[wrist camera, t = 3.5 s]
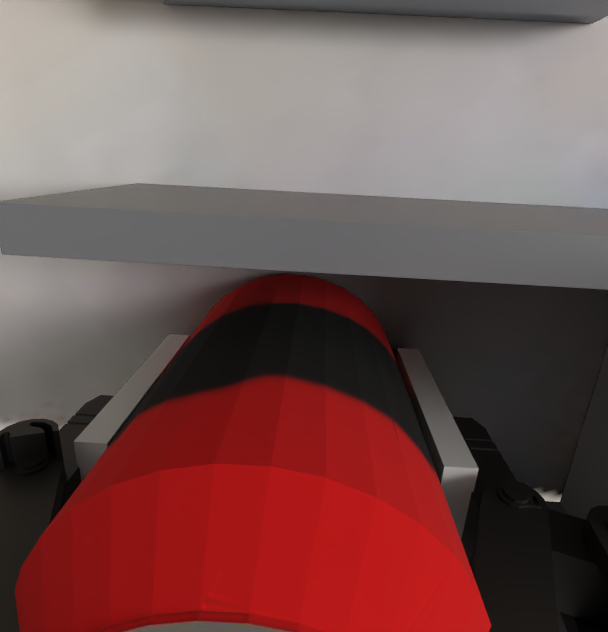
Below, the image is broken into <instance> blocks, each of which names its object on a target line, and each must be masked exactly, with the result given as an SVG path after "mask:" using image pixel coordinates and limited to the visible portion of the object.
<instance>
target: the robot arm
mask: <svg viewBox="0 0 608 632" xmlns="http://www.w3.org/2000/svg"><path fill="white" fill-rule="evenodd" d="M189 338H190V335H178V334H168V336H167V337H166V338H165V339H164V340H163V341H162V342H161V344H160V345H159V346H158V347H157V348H156V349H155V350H154V351H153V353H152V354H151V355H150V356H149V357H148V358H147V359H146V360H145V362H144V363H143V364H142V365H141V366H140V367H139V368H138V369H137V371H136V372H135V373H134V374H133V375H132V376H131V377H130V379H129V380H128V381H127V382H126V383H125V384H124V385H123V386H122V388H121V389H120V390H119V391H118V392H117V393H116V394H115V395H114V396H105V395H100V396H98V397H97V398H95V399H93V400H91V401H89V402H87V403H86V404H85V405H84V406H83V407H82V408H81V409H80V410H79V411H78V412H77V413H76V415H75V416H73V417H72V418H71V419H70V420H69V421H68V423H67V424H65V425H64V426H63V427H62V428H61V429H60V430H59V428H58V424H56V423H55V422H54V421H52V420H47V419H31V420H26V421H21V422H18V423H15V424H13V425H10V426H8V427H6V428H4V429H3V430H1V431H0V632H20V629H19V621H18V613H17V606H16V598H15V587H16V584H17V580H18V577H19V573H20V570H21V567H22V565H23V563H24V562H25V560H26V559H27V557H28V556H29V554H30V552H31V551H32V549H33V548H34V546H35V545H36V543H37V541H38V540H39V538H40V537H41V535H42V534H43V533H44V531H45V530H46V529H47V527H48V526H49V525H50V523H51V522H52V521H53V519H54V518H55V517H56V515H57V514H58V513H59V511H60V510H61V509H62V507H63V506H64V505H65V503H66V502H67V501H68V499H69V498H70V497H71V495H72V494H73V493H74V491H75V490H76V489H77V487H78V486H79V485H80V483H81V482H82V481H83V479H84V478H85V477H86V475H87V474H88V473H89V471H90V470H91V469H92V467H93V466H94V465H95V463H96V462H97V461H98V459H99V458H100V457H101V455H102V454H103V453H104V451H105V450H106V449H107V448H108V446H109V445H110V444H111V442H112V441H113V440H114V438H115V437H116V436H117V434H118V433H119V432H120V430H121V429H122V428H123V426H124V425H125V424H126V422H127V421H128V420H129V418H130V417H131V416H132V414H133V413H134V412H135V410H136V409H137V408H138V406H139V405H140V404H141V402H142V401H143V400H144V398H145V397H146V396H147V394H148V393H149V392H150V390H151V389H152V388H153V386H154V385H155V384H156V382H157V381H158V380H159V378H160V377H161V376H162V374H163V373H164V372H165V370H166V369H167V368H168V366H169V365H170V364H171V362H172V361H173V360H174V358H175V357H176V356H177V354H178V353H179V352H180V350H181V349H182V348H183V346H184V345H185V344H186V342H187V341H188V340H189ZM396 362H397V365H398V368H399V371H400V374H401V376H402V379H403V382H404V385H405V387H406V390H407V393H408V396H409V398H410V401H411V404H412V407H413V409H414V412H415V415H416V418H417V421H418V423H419V426H420V429H421V432H422V434H423V437H424V440H425V443H426V445H427V448H428V451H429V454H430V456H431V459H432V462H433V465H434V468H435V470H436V473H437V476H438V479H439V481H440V484H441V487H442V490H443V492H444V495H445V498H446V501H447V503H448V506H449V509H450V512H451V515H452V517H453V520H454V523H455V526H456V528H457V531H458V534H459V537H460V539H461V542H462V544H463V546H464V549H465V552H466V555H467V557H468V562H469V564H470V567H471V570H472V573H473V575H474V578H475V581H476V584H477V586H478V589H479V592H480V595H481V598H482V600H483V603H484V606H485V609H486V612H487V615H488V617H489V620H490V623H491V628H490V630H489V632H559V626H558V615H557V611H559V612H560V613H561V616H562V619H563V622H564V624H565V627H566V630H567V632H608V506H600V505H598V506H596V507H593V508H591V509H590V511H589V513H588V515H587V518H586V520H585V519H582V518H578V517H575V516H571V515H568V514H564V513H561V512H558V511H555V510H552V509H549V508H548V507H547V505H546V502H545V500H544V499H543V498H542V497H541V495H540V494H539V493H538V492H537V491H535V490H534V489H532V488H531V487H529V486H528V485H526V484H523V483H521V482H518V481H517V480H516V479H515V477H514V475H513V474H512V472H511V470H510V469H509V467H508V465H507V464H506V462H505V460H504V459H503V457H502V455H501V454H500V452H499V451H498V449H497V447H496V446H495V444H494V442H492V439H491V437H490V436H489V434H488V432H487V431H486V429H485V428H484V427H483V426H482V425H480V424H479V423H478V422H477V421H475V420H474V419H473V418H463V417H452V415H451V413H450V411H449V409H448V407H447V405H446V403H445V401H444V399H443V397H442V395H441V393H440V391H439V389H438V387H437V385H436V383H435V381H434V379H433V377H432V375H431V373H430V371H429V369H428V367H427V365H426V363H425V361H424V359H423V357H422V355H421V353H420V351H419V349H405V348H398V349H397V357H396Z"/></svg>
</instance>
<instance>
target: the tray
mask: <svg viewBox="0 0 608 632" xmlns="http://www.w3.org/2000/svg"><path fill="white" fill-rule="evenodd" d="M161 1H162V2H163V3H164V4H174V5H196V6H218V7H240V8H263V9H285V10H307V11H329V12H351V13H373V14H395V15H417V16H439V17H462V18H484V19H506V20H528V21H550V22H572V23H594V22H596V21H598V20H600V19H602V18H604V17H606V16H608V0H161Z"/></svg>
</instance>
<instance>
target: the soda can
mask: <svg viewBox="0 0 608 632" xmlns="http://www.w3.org/2000/svg"><path fill="white" fill-rule="evenodd" d="M15 598H16V606H17V613H18V621H19V629H20V632H489V630H490V628H491V623H490V620H489V617H488V615H487V612H486V609H485V606H484V603H483V600H482V598H481V595H480V592H479V589H478V586H477V584H476V581H475V578H474V575H473V573H472V570H471V567H470V564H469V562H468V559H467V556H466V553H465V550H464V548H463V545H462V542H461V539H460V537H459V534H458V531H457V528H456V526H455V523H454V520H453V517H452V515H451V512H450V509H449V506H448V503H447V501H446V498H445V495H444V492H443V490H442V487H441V484H440V481H439V479H438V476H437V473H436V470H435V468H434V465H433V462H432V459H431V456H430V454H429V451H428V448H427V445H426V443H425V440H424V437H423V434H422V432H421V429H420V426H419V423H418V421H417V418H416V415H415V412H414V409H413V407H412V404H411V401H410V398H409V396H408V393H407V390H406V387H405V385H404V382H403V379H402V376H401V374H400V371H399V368H398V365H397V362H396V360H395V357H394V354H393V351H392V349H391V346H390V343H389V340H388V338H387V335H386V332H385V330H384V328H383V327H382V325H381V323H380V322H379V320H378V319H377V317H376V315H375V314H374V313H373V312H372V311H371V310H370V309H369V308H368V307H367V306H366V305H365V304H364V302H363V301H362V300H361V299H359V298H358V297H356V296H355V295H353V294H352V293H350V292H349V291H348V290H346V289H345V288H343V287H341V286H338V285H336V284H334V283H331V282H329V281H327V280H325V279H320V278H316V277H311V276H307V275H292V274H281V275H275V276H269V277H263V278H259V279H257V280H254V281H252V282H249V283H246V284H244V285H241V286H240V287H238V288H237V289H235V290H234V291H232V292H230V293H229V294H227V295H226V296H225V297H224V298H222V299H221V300H220V301H219V302H218V303H217V304H216V305H215V306H214V307H213V308H212V309H211V311H210V312H209V313H208V315H207V316H206V317H205V319H204V320H203V321H202V323H201V324H200V325H199V327H198V328H197V329H196V330H195V332H194V333H193V334H192V336H191V337H190V338H189V340H188V341H187V342H186V344H185V345H184V346H183V348H182V349H181V350H180V352H179V353H178V354H177V356H176V357H175V358H174V360H173V361H172V362H171V364H170V365H169V366H168V368H167V369H166V370H165V372H164V373H163V374H162V376H161V377H160V378H159V380H158V381H157V382H156V384H155V385H154V386H153V388H152V389H151V390H150V392H149V393H148V394H147V396H146V397H145V398H144V400H143V401H142V402H141V404H140V405H139V406H138V408H137V409H136V410H135V412H134V413H133V414H132V416H131V417H130V418H129V420H128V421H127V422H126V424H125V425H124V426H123V428H122V429H121V430H120V432H119V433H118V434H117V436H116V437H115V438H114V440H113V441H112V442H111V444H110V445H109V446H108V448H107V449H106V450H105V451H104V453H103V454H102V455H101V457H100V458H99V459H98V461H97V462H96V463H95V465H94V466H93V467H92V469H91V470H90V471H89V473H88V474H87V475H86V477H85V478H84V479H83V481H82V482H81V483H80V485H79V486H78V487H77V489H76V490H75V491H74V493H73V494H72V495H71V497H70V498H69V499H68V501H67V502H66V503H65V505H64V506H63V507H62V509H61V510H60V511H59V513H58V514H57V515H56V517H55V518H54V519H53V521H52V522H51V523H50V525H49V526H48V527H47V529H46V530H45V531H44V533H43V534H42V535H41V537H40V538H39V540H38V541H37V543H36V545H35V546H34V548H33V549H32V551H31V552H30V554H29V556H28V557H27V559H26V560H25V562H24V563H23V565H22V567H21V570H20V573H19V577H18V580H17V584H16V587H15Z"/></svg>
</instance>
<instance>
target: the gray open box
mask: <svg viewBox="0 0 608 632" xmlns="http://www.w3.org/2000/svg"><path fill="white" fill-rule="evenodd" d="M0 247H1V252H2V254H5V255H22V256H39V257H57V258H74V259H91V260H108V261H125V262H142V263H160V264H177V265H194V266H211V267H228V268H245V269H263V270H280V271H297V272H314V273H331V274H348V275H366V276H383V277H400V278H417V279H434V280H451V281H469V282H486V283H503V284H520V285H537V286H554V287H572V288H589V289H606V290H608V209H599V208H581V207H562V206H544V205H525V204H507V203H489V202H470V201H452V200H433V199H415V198H396V197H378V196H360V195H341V194H323V193H304V192H286V191H268V190H249V189H231V188H212V187H194V186H176V185H157V184H139V183H138V184H130V185H123V186H115V187H107V188H99V189H91V190H83V191H75V192H67V193H60V194H52V195H44V196H36V197H28V198H20V199H12V200H4V201H0ZM545 502H546V505H547V507H548V508H549V509H552V510H555V511H558V512H561V513H564V514H568V515H571V516H575V517H578V518H582V519H585V520H586V518H587V515H588V513H589V511H590V509H591V508H593V507H596V506H598V505H600V506H608V346H607V349H606V353H605V356H604V359H603V363H602V366H601V369H600V372H599V376H598V379H597V382H596V386H595V389H594V392H593V395H592V399H591V402H590V405H589V409H588V412H587V415H586V419H585V422H584V425H583V428H582V432H581V435H580V438H579V442H578V445H577V448H576V451H575V455H574V458H573V461H572V465H571V468H570V471H569V474H568V478H567V481H566V484H565V488H564V491H563V494H562V497H561V501H560V502H548V501H545ZM462 545H463V544H462ZM463 548H464V546H463ZM464 550H465V549H464ZM465 553H466V552H465ZM466 556H467V555H466ZM467 559H468V557H467ZM557 615H558V626H559V632H567V630H566V627H565V624H564V622H563V619H562V616H561V613H560V612H559V611H557Z"/></svg>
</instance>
